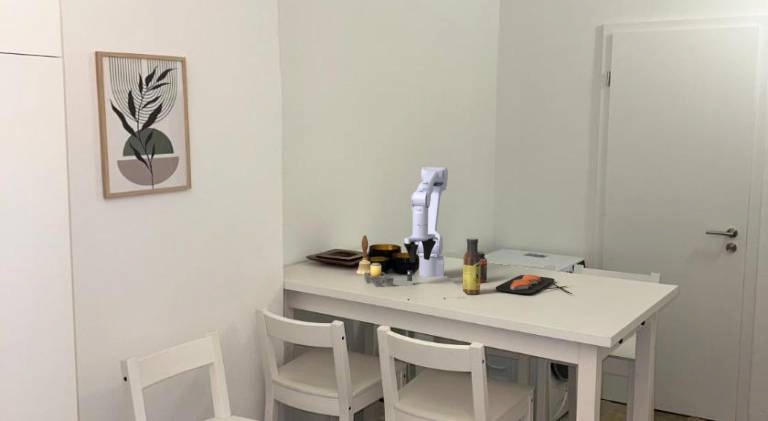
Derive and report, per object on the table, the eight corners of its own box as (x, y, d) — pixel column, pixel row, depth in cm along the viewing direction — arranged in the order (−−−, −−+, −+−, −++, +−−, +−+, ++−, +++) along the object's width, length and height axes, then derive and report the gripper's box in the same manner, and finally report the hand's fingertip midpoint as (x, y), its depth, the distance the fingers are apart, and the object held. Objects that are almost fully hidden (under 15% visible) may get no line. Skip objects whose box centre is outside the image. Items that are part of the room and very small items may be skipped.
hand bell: (375, 277, 294) (375, 237, 292) (353, 277, 295) (353, 237, 293) (375, 273, 303) (375, 234, 301) (354, 273, 303) (355, 233, 301)
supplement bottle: (486, 280, 292) (487, 251, 291) (486, 283, 286) (487, 254, 285) (470, 279, 293) (471, 251, 291) (471, 283, 287) (471, 253, 285)
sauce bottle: (479, 295, 267) (480, 240, 264) (461, 294, 268) (462, 239, 265) (480, 291, 273) (482, 237, 271) (463, 290, 274) (464, 236, 272)
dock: (406, 279, 292) (406, 268, 292) (414, 289, 275) (415, 278, 275) (362, 280, 289) (362, 269, 289) (368, 290, 273) (368, 279, 272)
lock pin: (411, 283, 279) (411, 270, 278) (412, 284, 277) (412, 271, 276) (390, 284, 277) (390, 271, 277) (391, 285, 276) (391, 272, 275)
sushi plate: (521, 278, 298) (521, 269, 298) (597, 288, 283) (597, 278, 282) (492, 293, 273) (492, 283, 273) (573, 304, 258) (574, 293, 258)
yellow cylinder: (379, 279, 286) (380, 262, 285) (382, 281, 282) (382, 264, 281) (369, 280, 285) (369, 262, 284) (371, 282, 281) (371, 265, 280)
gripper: (425, 221, 284) (425, 256, 286) (398, 225, 274) (398, 261, 276) (439, 223, 279) (439, 259, 281) (412, 227, 269) (412, 264, 271)
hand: (419, 260), depth 278 cm, fingers open, 7 cm apart
